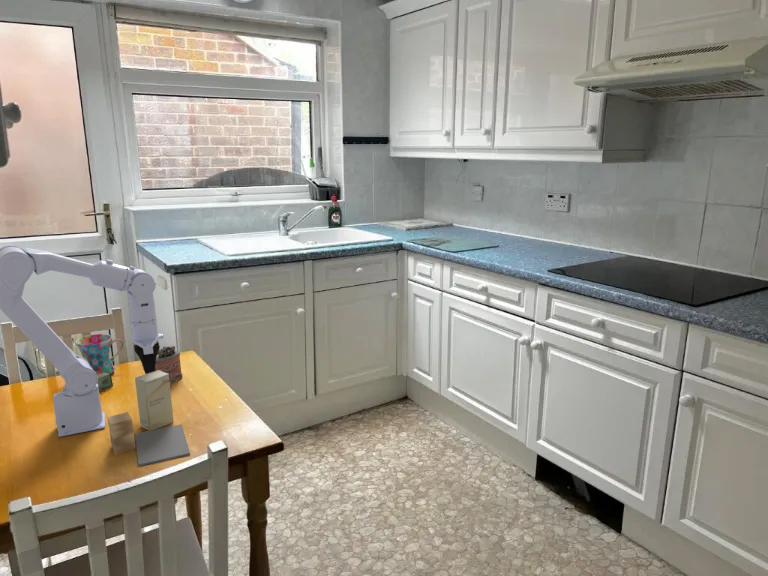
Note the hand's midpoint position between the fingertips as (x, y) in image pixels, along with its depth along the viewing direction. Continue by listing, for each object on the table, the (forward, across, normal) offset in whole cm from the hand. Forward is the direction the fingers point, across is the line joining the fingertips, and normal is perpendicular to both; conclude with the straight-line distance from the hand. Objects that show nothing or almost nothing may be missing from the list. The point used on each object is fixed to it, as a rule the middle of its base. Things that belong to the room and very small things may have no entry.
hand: (149, 372), depth 140 cm
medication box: (+10, +16, +15) cm, 24 cm away
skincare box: (+9, -10, 0) cm, 14 cm away
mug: (+9, +29, +11) cm, 32 cm away
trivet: (+9, -20, 0) cm, 22 cm away
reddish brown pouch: (+9, +15, -5) cm, 18 cm away
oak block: (+9, -18, +8) cm, 22 cm away
